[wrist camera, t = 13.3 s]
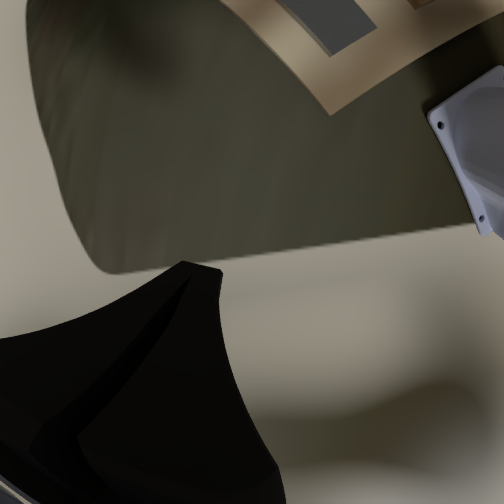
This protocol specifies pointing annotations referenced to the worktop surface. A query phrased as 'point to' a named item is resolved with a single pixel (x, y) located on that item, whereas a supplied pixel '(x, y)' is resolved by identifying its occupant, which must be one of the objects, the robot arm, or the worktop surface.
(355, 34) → the bar
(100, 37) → the worktop surface
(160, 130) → the worktop surface
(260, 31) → the socket board
